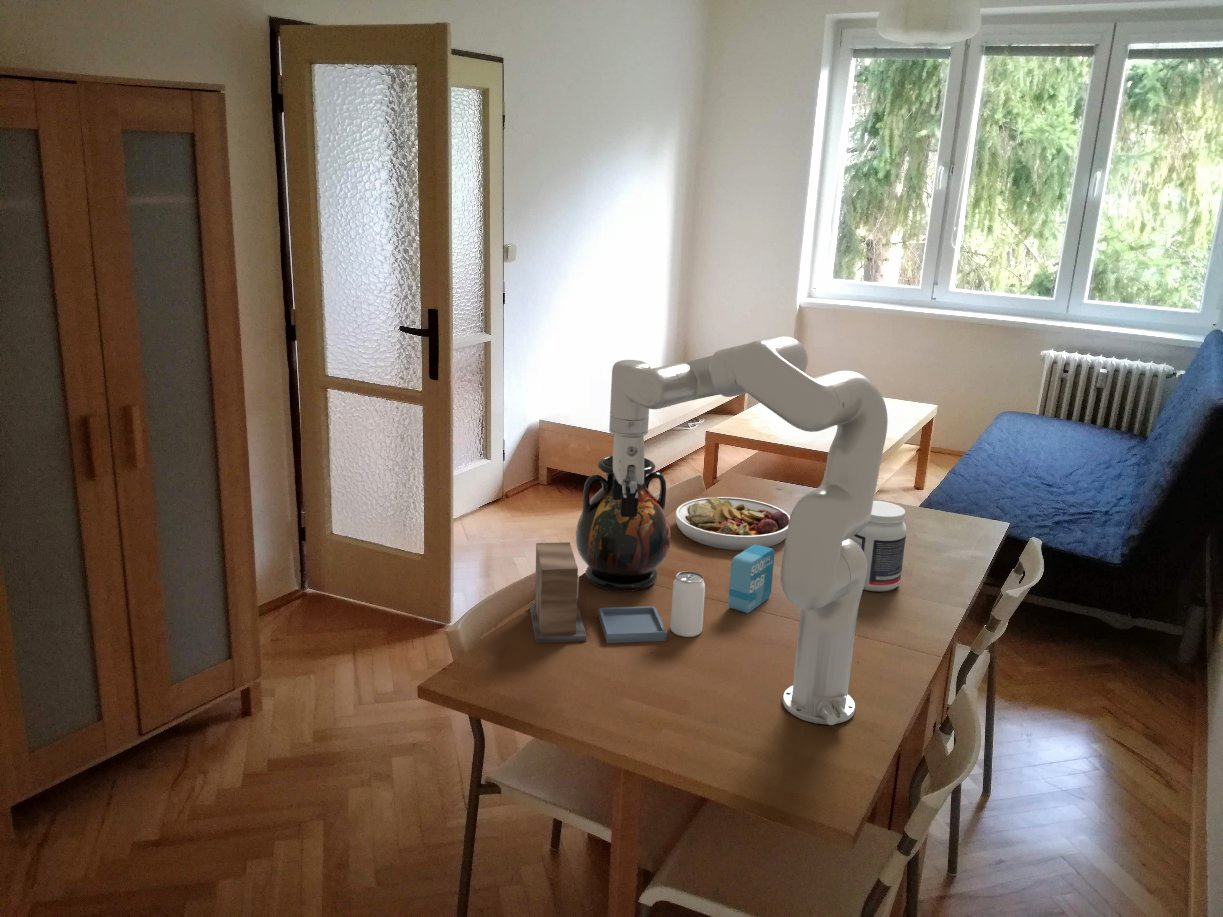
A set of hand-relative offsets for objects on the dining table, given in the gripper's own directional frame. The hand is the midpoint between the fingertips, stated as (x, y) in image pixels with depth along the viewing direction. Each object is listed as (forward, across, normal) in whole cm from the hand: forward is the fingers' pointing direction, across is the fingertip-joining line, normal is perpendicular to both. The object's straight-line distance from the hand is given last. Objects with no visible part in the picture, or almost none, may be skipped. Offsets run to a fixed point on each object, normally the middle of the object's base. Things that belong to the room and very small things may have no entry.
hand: (624, 507), depth 196 cm
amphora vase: (+26, +24, -4) cm, 35 cm away
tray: (+26, -2, -2) cm, 26 cm away
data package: (+26, +8, -30) cm, 41 cm away
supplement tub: (+26, +18, -62) cm, 70 cm away
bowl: (+26, +52, -38) cm, 70 cm away
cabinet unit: (+26, +2, +12) cm, 29 cm away
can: (+26, -4, -14) cm, 29 cm away
